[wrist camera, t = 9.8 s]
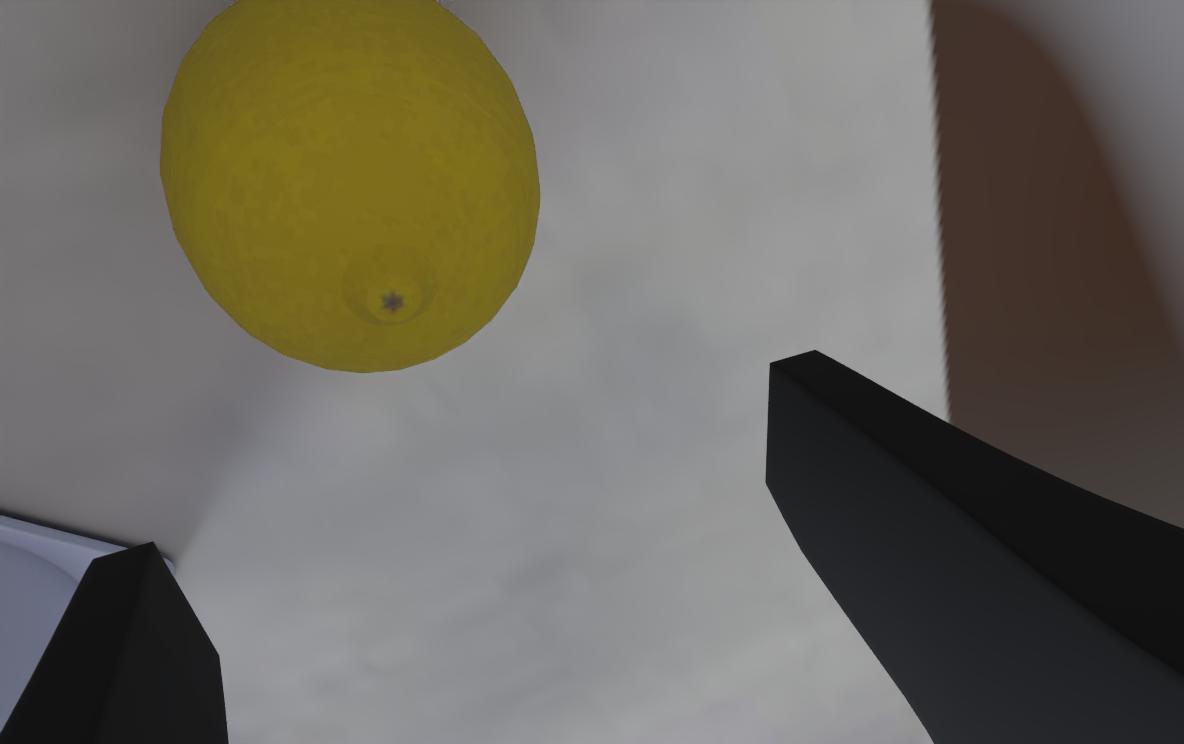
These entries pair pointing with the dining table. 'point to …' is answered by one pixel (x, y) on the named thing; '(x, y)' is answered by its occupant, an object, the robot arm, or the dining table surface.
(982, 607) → the robot arm
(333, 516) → the dining table surface
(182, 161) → the lemon
